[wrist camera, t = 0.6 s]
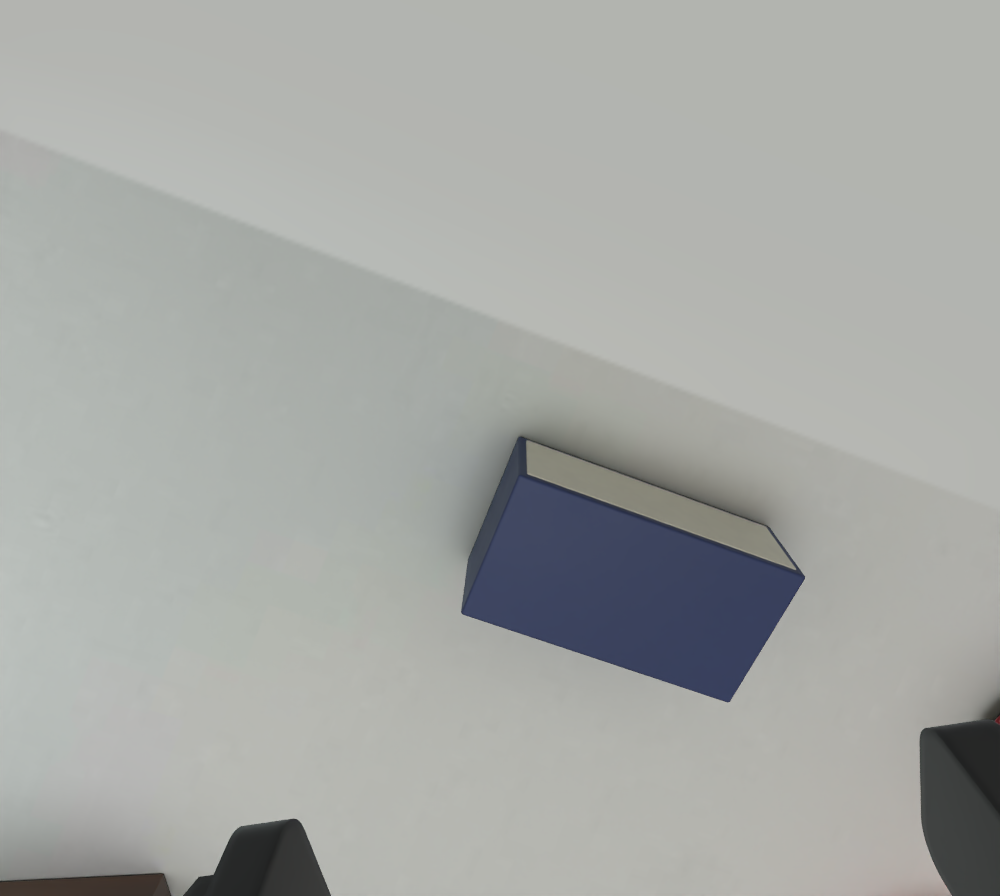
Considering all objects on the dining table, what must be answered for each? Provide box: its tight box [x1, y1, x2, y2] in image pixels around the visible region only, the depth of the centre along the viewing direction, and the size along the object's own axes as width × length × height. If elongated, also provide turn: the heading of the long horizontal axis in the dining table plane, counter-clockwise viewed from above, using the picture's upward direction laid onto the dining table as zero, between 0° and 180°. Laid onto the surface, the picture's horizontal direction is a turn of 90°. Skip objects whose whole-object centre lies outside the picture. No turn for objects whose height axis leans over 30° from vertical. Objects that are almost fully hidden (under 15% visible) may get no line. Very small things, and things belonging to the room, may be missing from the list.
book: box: [461, 437, 805, 702], centre depth 28 cm, size 6×11×4 cm, turn 70°
